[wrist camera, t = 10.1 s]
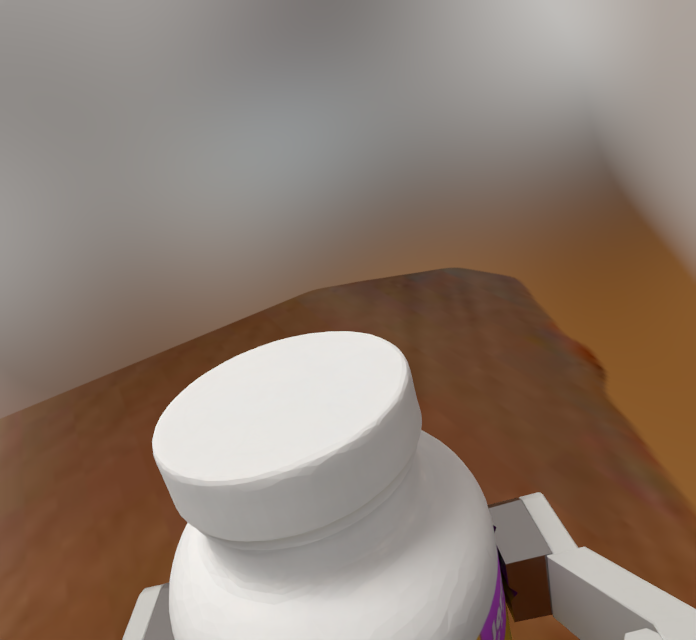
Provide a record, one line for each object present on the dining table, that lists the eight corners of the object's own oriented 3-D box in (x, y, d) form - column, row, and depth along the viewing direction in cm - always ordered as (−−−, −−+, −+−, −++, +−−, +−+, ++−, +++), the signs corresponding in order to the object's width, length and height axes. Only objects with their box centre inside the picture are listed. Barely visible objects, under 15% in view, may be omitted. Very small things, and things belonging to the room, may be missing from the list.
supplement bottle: (590, 951, 10) (543, 484, 5) (287, 992, 10) (-31, 600, 5) (491, 630, 16) (427, 287, 11) (306, 664, 16) (168, 348, 11)
